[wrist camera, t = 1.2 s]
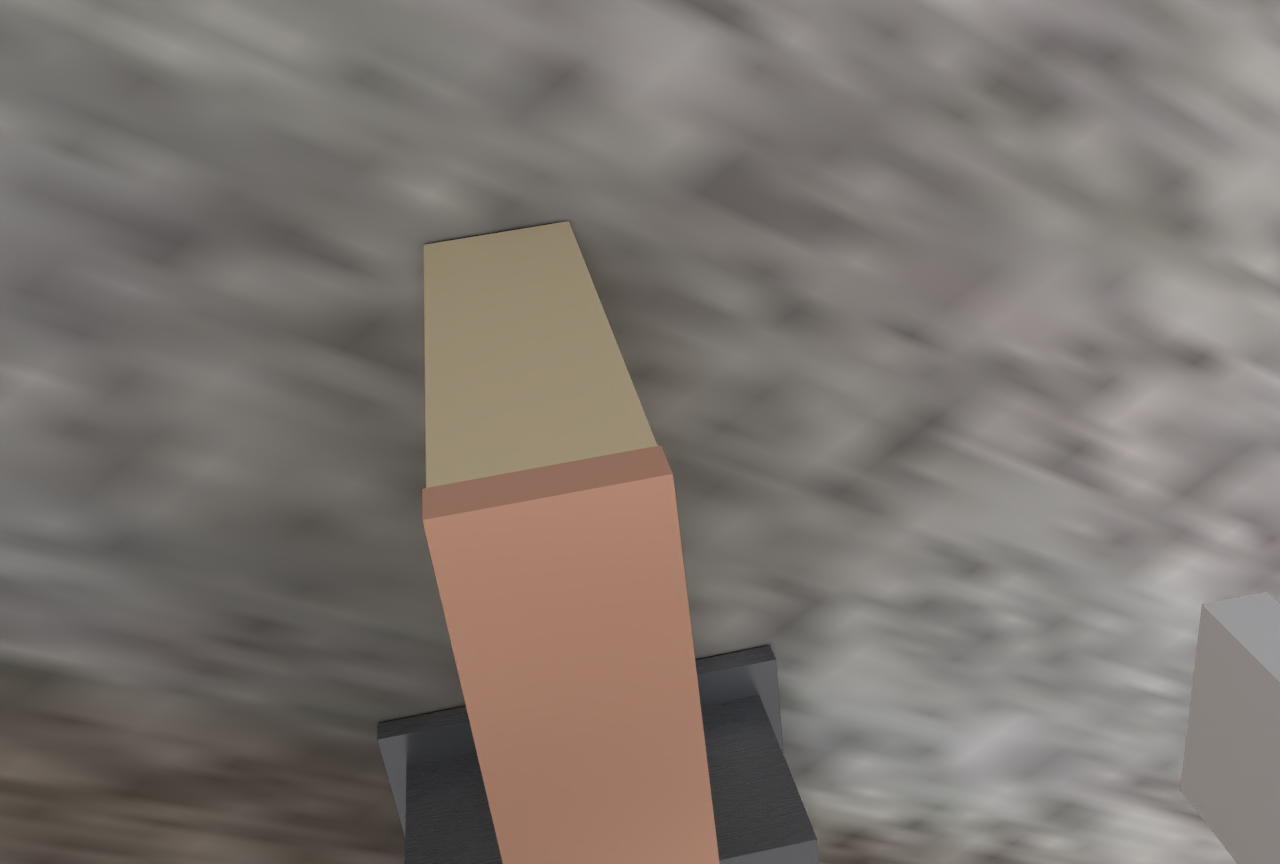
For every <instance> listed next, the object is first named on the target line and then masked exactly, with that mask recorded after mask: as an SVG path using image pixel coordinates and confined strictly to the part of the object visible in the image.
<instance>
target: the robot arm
mask: <svg viewBox="0 0 1280 864" xmlns="http://www.w3.org/2000/svg"><path fill="white" fill-rule="evenodd" d="M1180 791H1181V792H1182V793H1183V795H1184V796H1185V797H1186V798H1187V800H1188V801H1189V802H1190V803H1191V805H1192V806H1193V807H1194V809H1195V810H1196V811H1197V812H1198V814H1199V815H1200V816H1201V817H1202V819H1203V820H1204V821H1205V823H1206V824H1207V825H1208V826H1209V828H1210V829H1211V830H1212V832H1213V833H1214V834H1215V835H1216V837H1217V838H1218V839H1219V840H1220V842H1221V843H1222V844H1223V846H1224V847H1225V848H1226V849H1227V851H1228V852H1229V853H1230V855H1231V856H1232V857H1233V858H1234V860H1235V861H1236V862H1237V863H1238V864H1280V603H1279V602H1278V601H1276V600H1275V599H1274V598H1273V597H1272V596H1271V595H1270V594H1269V593H1268V592H1263V593H1258V594H1253V595H1248V596H1243V597H1238V598H1233V599H1227V600H1222V601H1217V602H1212V603H1207V604H1202V609H1201V617H1200V626H1199V634H1198V643H1197V651H1196V660H1195V668H1194V677H1193V685H1192V693H1191V702H1190V710H1189V719H1188V727H1187V736H1186V744H1185V752H1184V761H1183V769H1182V778H1181V786H1180Z"/></svg>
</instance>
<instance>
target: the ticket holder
mask: <svg viewBox="0 0 1280 864" xmlns="http://www.w3.org/2000/svg"><path fill="white" fill-rule="evenodd" d="M695 662H696V671H697V679H698V688H699V696H700V704H701V713H702V721H703V729H704V738H705V746H706V754H707V763H708V771H709V779H710V788H711V796H712V804H713V813H714V821H715V830H716V838H717V846H718V855H719V863H720V864H819V861H818V846H817V838H816V835H815V833H814V830H813V828H812V825H811V823H810V820H809V818H808V815H807V813H806V810H805V808H804V805H803V803H802V800H801V798H800V795H799V793H798V790H797V788H796V785H795V783H794V780H793V778H792V775H791V773H790V770H789V768H788V765H787V763H786V760H785V758H784V755H783V742H782V730H781V718H780V705H779V693H778V681H777V668H776V659H775V657H774V654H773V652H772V650H771V647H770V645H769V646H764V647H759V648H754V649H749V650H744V651H739V652H734V653H729V654H724V655H719V656H714V657H709V658H704V659H699V660H695ZM377 740H378V744H379V747H380V751H381V754H382V758H383V761H384V765H385V768H386V772H387V775H388V779H389V783H390V786H391V790H392V793H393V797H394V800H395V804H396V807H397V811H398V814H399V818H400V822H401V825H402V829H403V832H404V836H405V864H503V862H502V858H501V854H500V850H499V845H498V841H497V837H496V832H495V828H494V824H493V820H492V815H491V811H490V807H489V803H488V798H487V794H486V790H485V786H484V781H483V777H482V773H481V768H480V764H479V760H478V756H477V751H476V747H475V743H474V739H473V734H472V730H471V726H470V721H469V717H468V713H467V709H466V706H464V707H459V708H454V709H449V710H444V711H439V712H434V713H429V714H424V715H419V716H414V717H409V718H404V719H399V720H394V721H389V722H384V723H379V724H378V738H377Z"/></svg>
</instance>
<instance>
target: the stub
mask: <svg viewBox="0 0 1280 864" xmlns="http://www.w3.org/2000/svg"><path fill="white" fill-rule="evenodd" d="M424 330H425V427H426V488H423V489H422V521H423V525H424V529H425V534H426V538H427V542H428V547H429V551H430V555H431V559H432V564H433V568H434V572H435V576H436V581H437V585H438V589H439V593H440V598H441V602H442V606H443V611H444V615H445V619H446V623H447V628H448V632H449V636H450V640H451V645H452V649H453V653H454V657H455V662H456V666H457V670H458V675H459V679H460V683H461V687H462V692H463V696H464V700H465V704H466V709H467V713H468V717H469V721H470V726H471V730H472V734H473V739H474V743H475V747H476V751H477V756H478V760H479V764H480V768H481V773H482V777H483V781H484V786H485V790H486V794H487V798H488V803H489V807H490V811H491V815H492V820H493V824H494V828H495V832H496V837H497V841H498V845H499V850H500V854H501V858H502V862H503V864H720V863H719V855H718V846H717V838H716V830H715V821H714V813H713V804H712V796H711V788H710V779H709V771H708V763H707V754H706V746H705V738H704V729H703V721H702V713H701V704H700V696H699V688H698V679H697V671H696V662H695V654H694V646H693V637H692V629H691V621H690V612H689V604H688V596H687V587H686V579H685V571H684V562H683V554H682V546H681V537H680V529H679V520H678V512H677V504H676V495H675V487H674V479H673V473H672V470H671V468H670V465H669V463H668V460H667V458H666V455H665V453H664V451H663V448H662V446H661V445H659V446H657V443H656V441H655V438H654V436H653V433H652V431H651V428H650V425H649V423H648V420H647V418H646V415H645V413H644V410H643V408H642V405H641V403H640V400H639V398H638V395H637V393H636V390H635V388H634V385H633V382H632V380H631V377H630V375H629V372H628V370H627V367H626V365H625V362H624V360H623V357H622V355H621V352H620V350H619V347H618V345H617V342H616V339H615V337H614V334H613V332H612V329H611V327H610V324H609V322H608V319H607V317H606V314H605V312H604V309H603V307H602V304H601V302H600V299H599V296H598V294H597V291H596V289H595V286H594V284H593V281H592V279H591V276H590V274H589V271H588V269H587V266H586V264H585V261H584V259H583V256H582V253H581V251H580V248H579V246H578V243H577V241H576V238H575V236H574V233H573V231H572V228H571V226H570V223H569V221H566V222H560V223H554V224H548V225H542V226H536V227H530V228H523V229H517V230H511V231H505V232H499V233H493V234H487V235H481V236H474V237H468V238H462V239H456V240H450V241H444V242H438V243H431V244H425V245H424Z"/></svg>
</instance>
